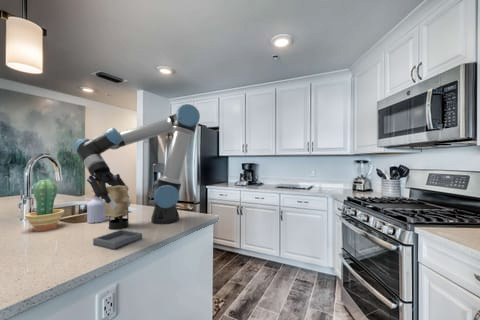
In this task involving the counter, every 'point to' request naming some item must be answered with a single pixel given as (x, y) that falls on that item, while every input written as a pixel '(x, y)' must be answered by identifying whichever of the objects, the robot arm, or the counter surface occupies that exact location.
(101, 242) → the slate tray
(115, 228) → the french press
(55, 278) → the counter surface
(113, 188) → the oak block
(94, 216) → the soap bottle
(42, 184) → the potted cactus
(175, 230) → the counter surface
